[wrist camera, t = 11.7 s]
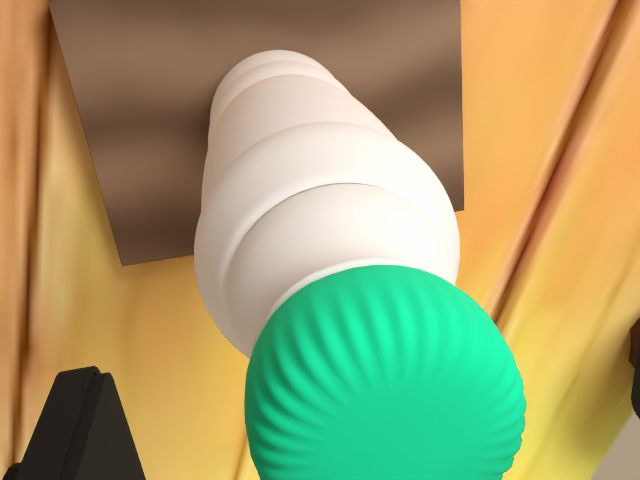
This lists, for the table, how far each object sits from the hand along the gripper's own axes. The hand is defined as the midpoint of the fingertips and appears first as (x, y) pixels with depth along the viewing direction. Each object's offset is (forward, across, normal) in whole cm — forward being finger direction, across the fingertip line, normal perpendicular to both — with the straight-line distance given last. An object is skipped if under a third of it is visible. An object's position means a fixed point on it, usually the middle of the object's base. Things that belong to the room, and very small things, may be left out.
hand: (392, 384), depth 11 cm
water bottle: (+24, 0, +1) cm, 24 cm away
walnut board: (+25, 0, +1) cm, 25 cm away
